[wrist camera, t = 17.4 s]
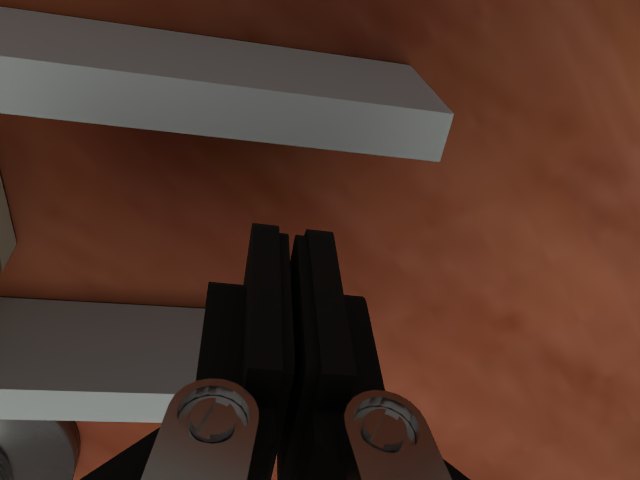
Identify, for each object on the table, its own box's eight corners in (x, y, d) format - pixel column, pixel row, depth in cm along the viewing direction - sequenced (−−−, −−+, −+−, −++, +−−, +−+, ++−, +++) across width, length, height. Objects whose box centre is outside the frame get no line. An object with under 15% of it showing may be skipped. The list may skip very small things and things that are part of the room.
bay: (-401, -61, 13) (-1074, 13, 6) (412, 57, 17) (530, 185, 10) (-246, 318, 19) (-519, 574, 12) (341, 345, 22) (387, 552, 15)
